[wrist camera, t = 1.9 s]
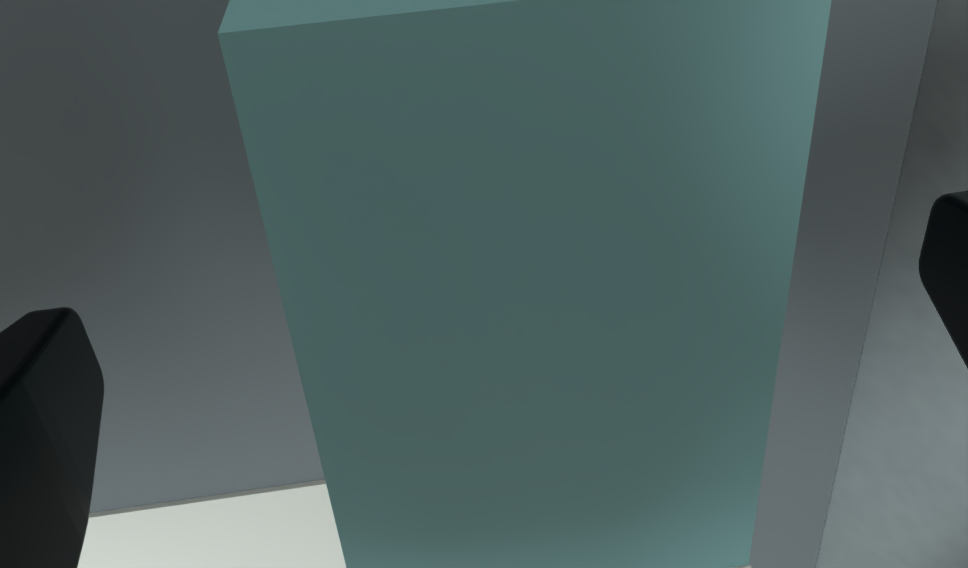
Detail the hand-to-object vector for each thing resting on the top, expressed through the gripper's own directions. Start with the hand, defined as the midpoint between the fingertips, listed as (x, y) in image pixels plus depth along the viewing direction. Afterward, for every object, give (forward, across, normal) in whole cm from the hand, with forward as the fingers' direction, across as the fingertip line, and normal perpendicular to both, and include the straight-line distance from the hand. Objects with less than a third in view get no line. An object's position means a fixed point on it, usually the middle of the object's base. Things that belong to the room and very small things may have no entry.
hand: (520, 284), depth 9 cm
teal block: (+3, 0, 0) cm, 3 cm away
